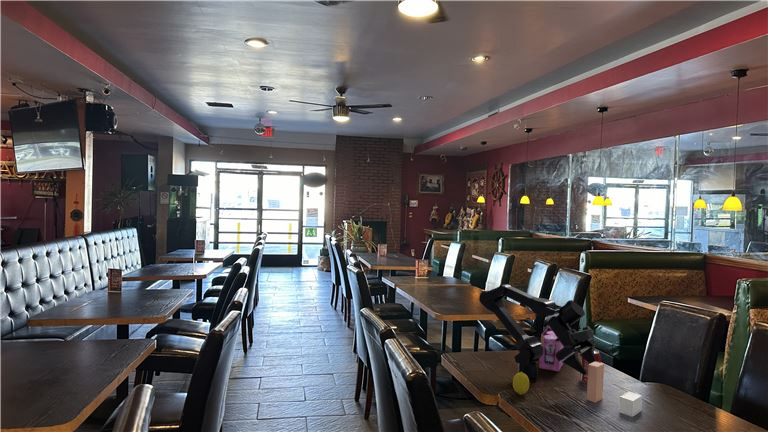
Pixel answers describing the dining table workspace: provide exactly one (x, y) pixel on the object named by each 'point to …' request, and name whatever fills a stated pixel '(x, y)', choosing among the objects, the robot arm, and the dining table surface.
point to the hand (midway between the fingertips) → (591, 371)
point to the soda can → (585, 364)
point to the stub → (595, 381)
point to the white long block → (630, 403)
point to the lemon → (521, 383)
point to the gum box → (550, 351)
